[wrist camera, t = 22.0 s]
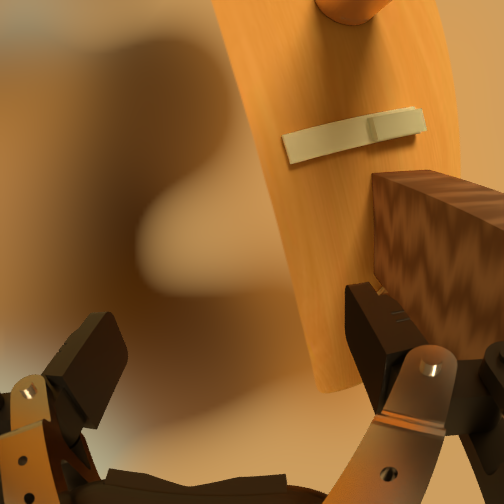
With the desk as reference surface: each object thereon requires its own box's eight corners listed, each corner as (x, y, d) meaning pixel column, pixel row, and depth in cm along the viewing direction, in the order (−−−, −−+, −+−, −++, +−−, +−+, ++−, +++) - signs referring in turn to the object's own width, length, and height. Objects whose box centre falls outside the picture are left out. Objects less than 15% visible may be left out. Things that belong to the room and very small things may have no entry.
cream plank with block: (280, 135, 40) (283, 135, 36) (408, 107, 38) (420, 105, 34) (289, 163, 41) (293, 165, 38) (414, 132, 39) (427, 133, 36)
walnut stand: (368, 170, 41) (545, 248, 11) (431, 166, 41) (605, 231, 11) (370, 277, 47) (475, 435, 17) (428, 267, 47) (549, 392, 17)
